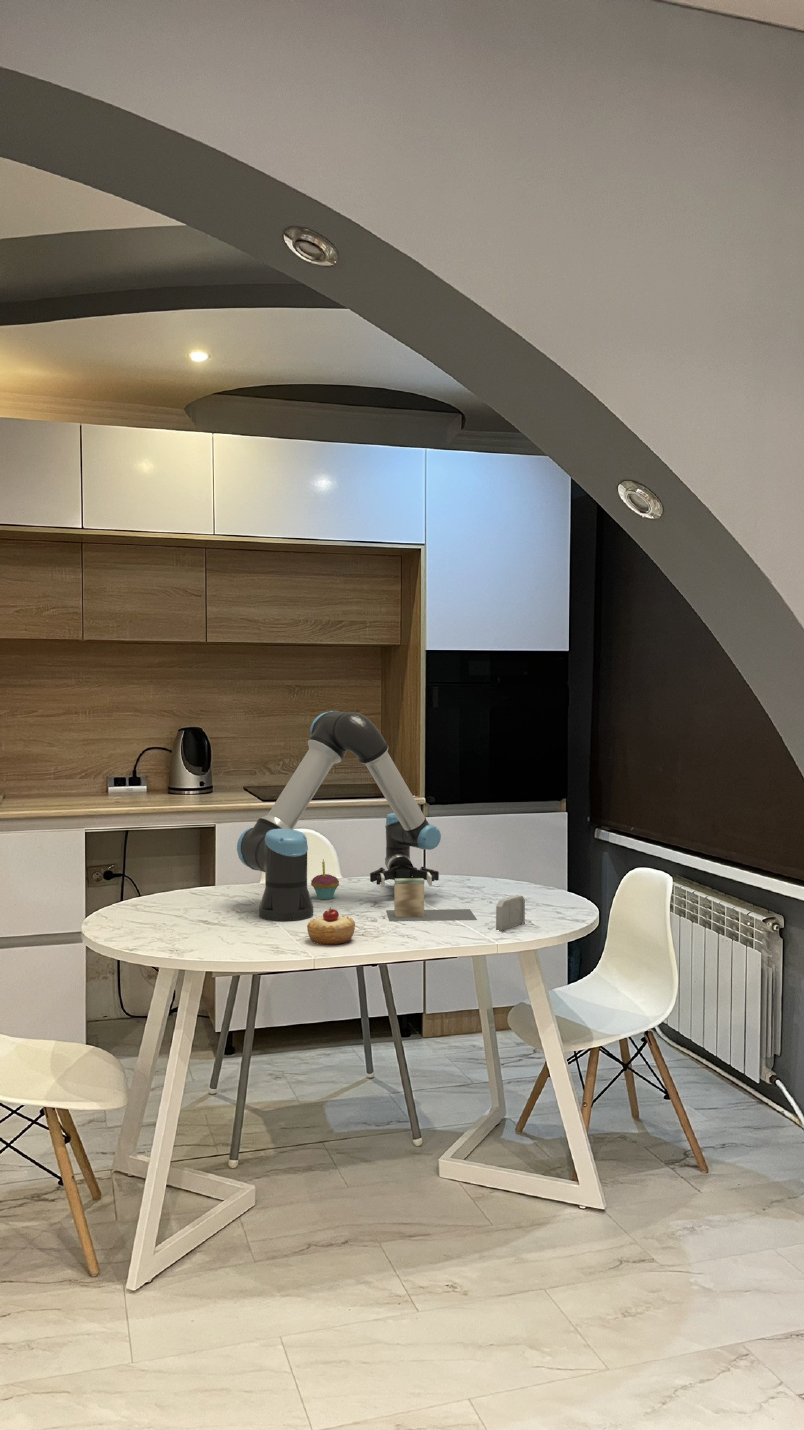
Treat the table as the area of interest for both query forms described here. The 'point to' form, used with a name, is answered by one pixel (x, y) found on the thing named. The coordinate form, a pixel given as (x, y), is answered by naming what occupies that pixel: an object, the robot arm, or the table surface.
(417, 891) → the tan and green block
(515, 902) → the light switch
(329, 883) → the cupcake
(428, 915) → the mat
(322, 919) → the pastry
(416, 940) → the table surface
